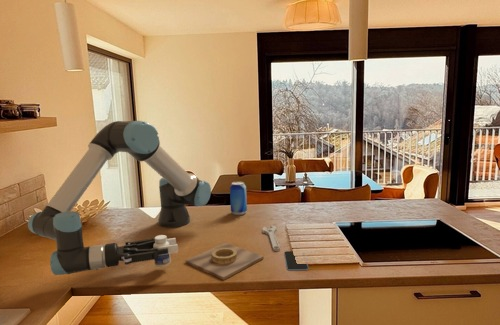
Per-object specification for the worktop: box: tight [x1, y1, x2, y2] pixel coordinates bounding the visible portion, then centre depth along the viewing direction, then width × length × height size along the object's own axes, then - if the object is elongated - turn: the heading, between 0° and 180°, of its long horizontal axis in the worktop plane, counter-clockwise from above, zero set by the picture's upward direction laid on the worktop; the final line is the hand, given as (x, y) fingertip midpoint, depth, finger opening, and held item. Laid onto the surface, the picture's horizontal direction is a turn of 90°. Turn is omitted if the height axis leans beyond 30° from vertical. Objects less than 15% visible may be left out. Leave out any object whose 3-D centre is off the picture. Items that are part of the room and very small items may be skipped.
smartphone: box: [283, 250, 309, 272], centre depth 123 cm, size 7×1×15 cm
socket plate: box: [185, 242, 264, 281], centre depth 125 cm, size 20×20×3 cm
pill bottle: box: [152, 234, 171, 268], centre depth 118 cm, size 5×5×10 cm
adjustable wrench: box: [262, 225, 281, 252], centre depth 144 cm, size 25×6×2 cm, turn 0°
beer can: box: [229, 181, 248, 216], centre depth 179 cm, size 8×8×16 cm
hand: (176, 244), depth 120 cm, fingers closed on pill bottle, 5 cm apart
